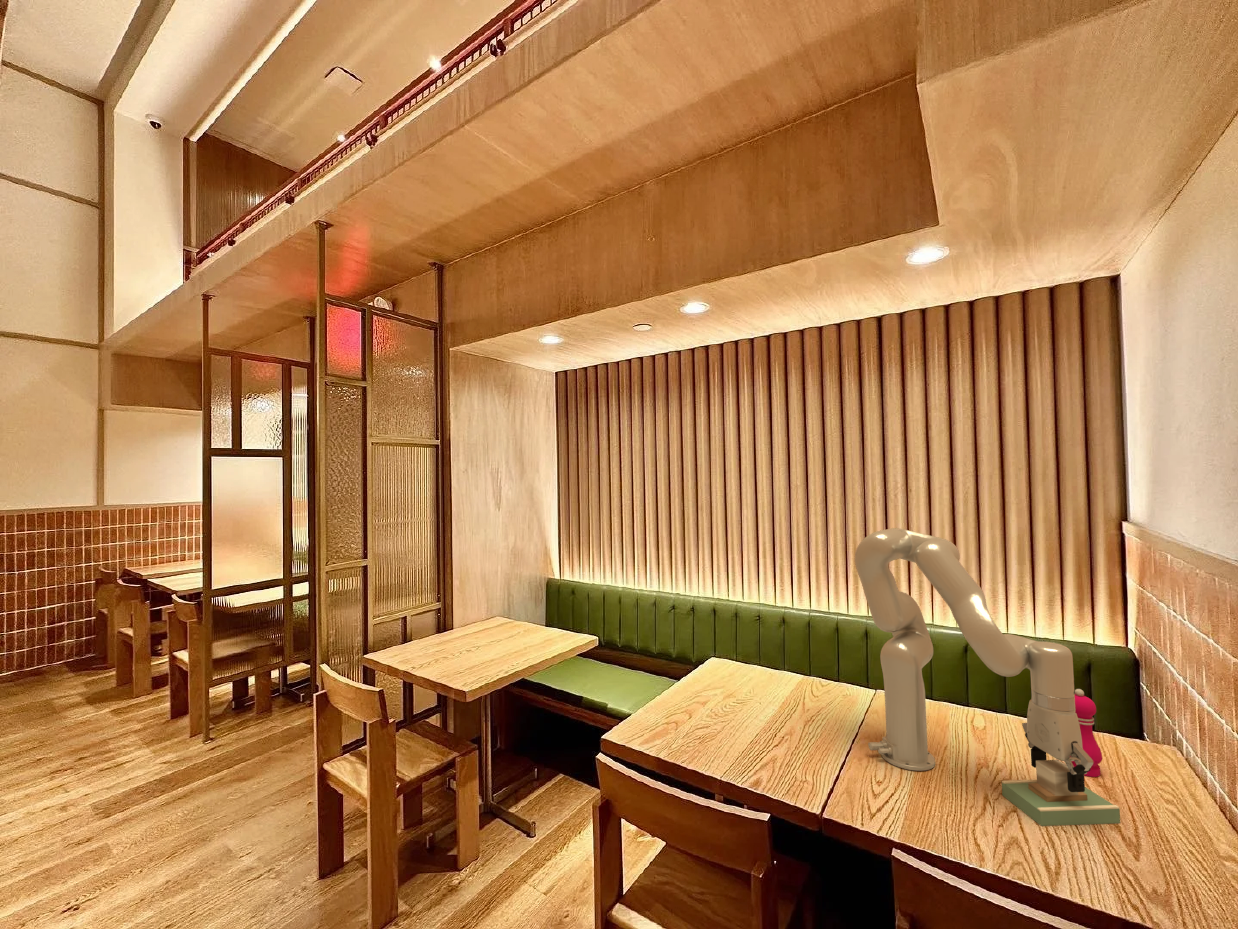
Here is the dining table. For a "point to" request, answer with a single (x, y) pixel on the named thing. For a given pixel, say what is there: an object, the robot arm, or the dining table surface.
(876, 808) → the dining table surface
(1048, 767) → the butter dish
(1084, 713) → the pepper mill
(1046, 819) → the dock
